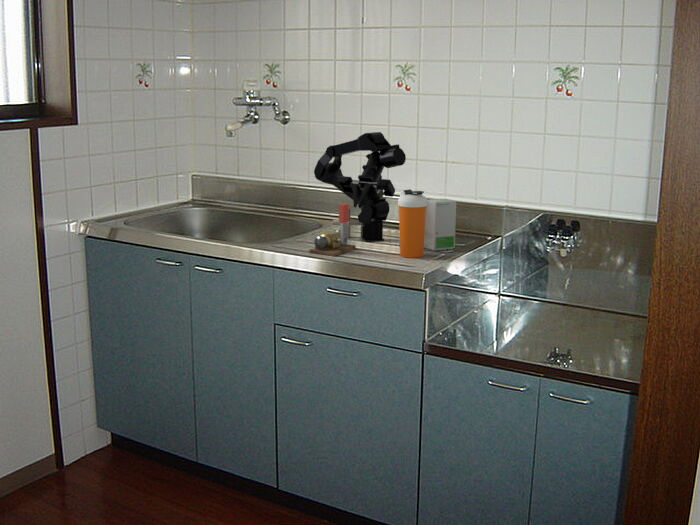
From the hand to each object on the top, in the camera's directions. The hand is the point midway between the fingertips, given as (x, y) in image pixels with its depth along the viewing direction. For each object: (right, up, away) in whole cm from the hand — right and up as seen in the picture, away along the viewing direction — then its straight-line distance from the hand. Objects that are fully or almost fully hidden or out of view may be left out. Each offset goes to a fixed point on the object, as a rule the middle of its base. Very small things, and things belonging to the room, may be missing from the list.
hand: (356, 207), depth 266 cm
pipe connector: (-3, -9, +19) cm, 21 cm away
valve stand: (-8, -14, -2) cm, 16 cm away
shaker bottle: (+17, -16, -8) cm, 24 cm away
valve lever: (-4, -12, -4) cm, 14 cm away
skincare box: (+26, -13, +2) cm, 30 cm away
